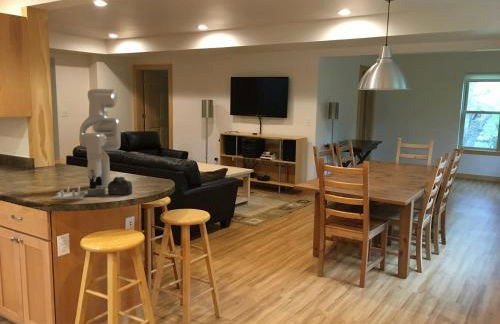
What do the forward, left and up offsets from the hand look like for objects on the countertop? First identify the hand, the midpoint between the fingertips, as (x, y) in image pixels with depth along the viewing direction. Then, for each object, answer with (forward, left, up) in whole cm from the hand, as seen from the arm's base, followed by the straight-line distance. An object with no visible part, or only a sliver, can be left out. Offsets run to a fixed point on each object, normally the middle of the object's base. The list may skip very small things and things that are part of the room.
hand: (96, 187), depth 230 cm
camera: (-4, +12, -5) cm, 14 cm away
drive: (-1, 0, -5) cm, 5 cm away
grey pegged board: (+2, -13, -5) cm, 14 cm away
